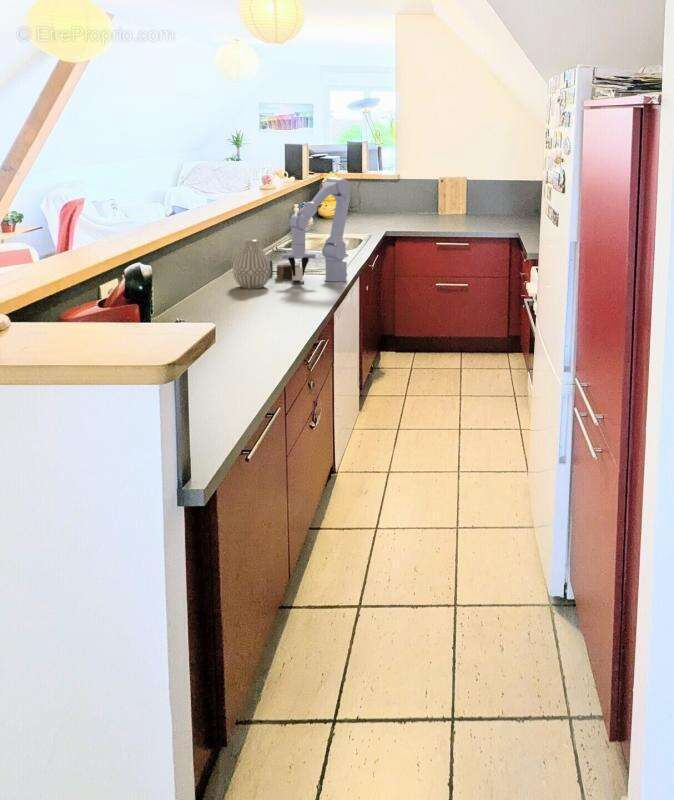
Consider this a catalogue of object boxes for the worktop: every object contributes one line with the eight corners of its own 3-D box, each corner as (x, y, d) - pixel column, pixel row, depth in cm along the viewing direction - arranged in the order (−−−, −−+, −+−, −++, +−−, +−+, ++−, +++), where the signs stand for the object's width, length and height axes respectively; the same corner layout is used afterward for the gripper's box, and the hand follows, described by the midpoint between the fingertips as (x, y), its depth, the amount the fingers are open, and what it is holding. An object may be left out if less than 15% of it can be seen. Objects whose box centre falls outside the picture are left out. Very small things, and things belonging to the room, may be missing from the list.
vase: (256, 292, 405) (255, 243, 399) (225, 288, 413) (224, 240, 407) (278, 286, 418) (278, 239, 412) (247, 282, 426) (247, 236, 420)
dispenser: (299, 277, 442) (299, 261, 440) (299, 280, 434) (299, 264, 432) (277, 276, 441) (277, 261, 439) (276, 279, 434) (276, 264, 432)
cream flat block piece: (298, 280, 432) (298, 268, 431) (302, 280, 420) (302, 267, 420) (292, 280, 431) (292, 268, 431) (295, 280, 420) (295, 267, 419)
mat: (304, 281, 430) (304, 280, 430) (304, 284, 424) (304, 283, 424) (292, 281, 429) (292, 280, 429) (292, 284, 424) (292, 283, 424)
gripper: (314, 242, 423) (313, 273, 427) (280, 242, 421) (280, 274, 425) (316, 244, 417) (316, 276, 421) (282, 244, 414) (282, 276, 418)
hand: (298, 275), depth 422 cm, fingers closed on cream flat block piece, 3 cm apart
